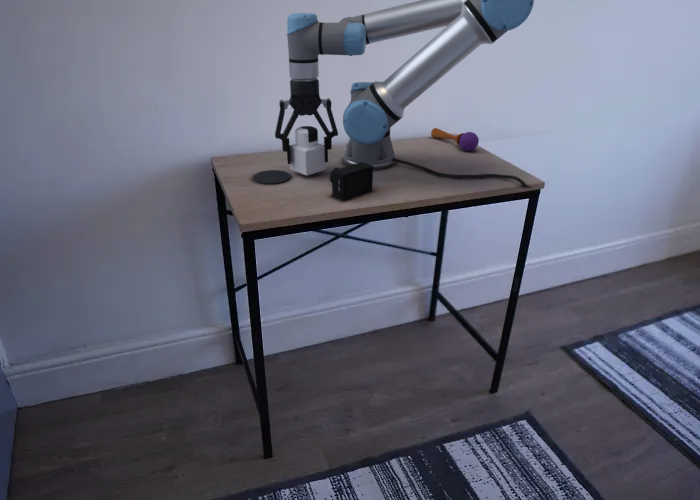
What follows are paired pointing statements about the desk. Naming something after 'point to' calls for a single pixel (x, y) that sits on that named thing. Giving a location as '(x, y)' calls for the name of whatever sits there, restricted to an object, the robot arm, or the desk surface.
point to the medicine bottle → (307, 152)
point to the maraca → (459, 138)
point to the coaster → (271, 177)
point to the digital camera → (351, 181)
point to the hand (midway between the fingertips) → (307, 161)
